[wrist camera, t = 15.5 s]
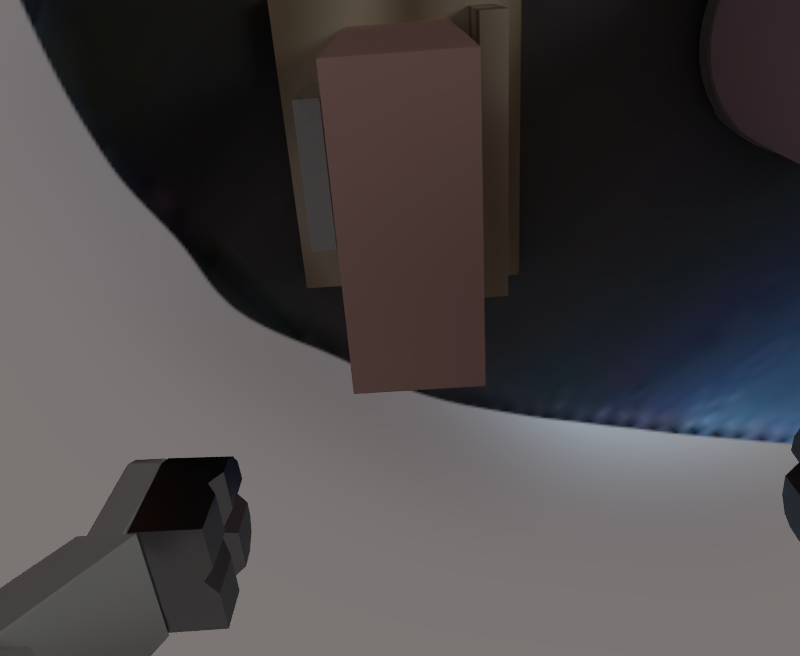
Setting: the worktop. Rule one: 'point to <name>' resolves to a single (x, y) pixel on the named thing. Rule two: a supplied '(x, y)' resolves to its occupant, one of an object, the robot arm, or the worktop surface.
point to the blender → (754, 70)
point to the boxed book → (407, 201)
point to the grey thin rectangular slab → (314, 167)
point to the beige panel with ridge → (500, 103)
